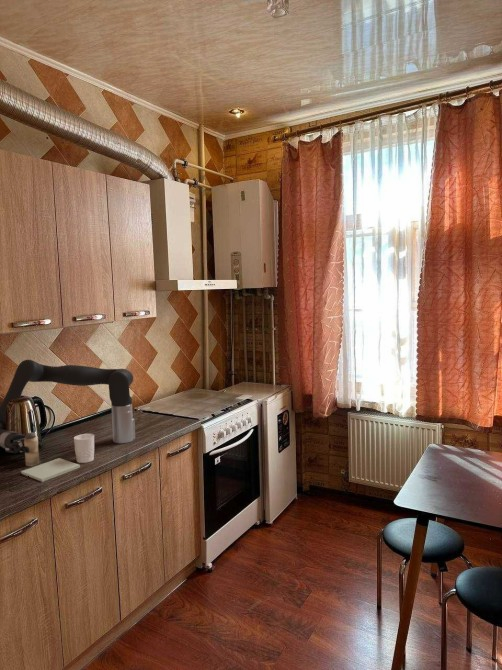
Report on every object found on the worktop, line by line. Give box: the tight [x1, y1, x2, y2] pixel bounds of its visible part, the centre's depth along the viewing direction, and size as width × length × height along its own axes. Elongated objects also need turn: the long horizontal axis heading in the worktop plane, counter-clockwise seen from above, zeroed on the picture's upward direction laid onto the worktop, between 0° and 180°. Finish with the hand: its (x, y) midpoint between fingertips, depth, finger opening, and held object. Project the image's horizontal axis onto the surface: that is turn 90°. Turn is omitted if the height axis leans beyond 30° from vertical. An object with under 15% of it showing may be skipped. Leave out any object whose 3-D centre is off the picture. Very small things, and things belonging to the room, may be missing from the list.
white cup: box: [73, 433, 95, 464], centre depth 186 cm, size 8×8×10 cm
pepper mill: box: [24, 432, 40, 467], centre depth 182 cm, size 5×5×12 cm
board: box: [20, 457, 81, 483], centre depth 176 cm, size 16×14×1 cm
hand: (35, 448), depth 181 cm, fingers closed on pepper mill, 5 cm apart
